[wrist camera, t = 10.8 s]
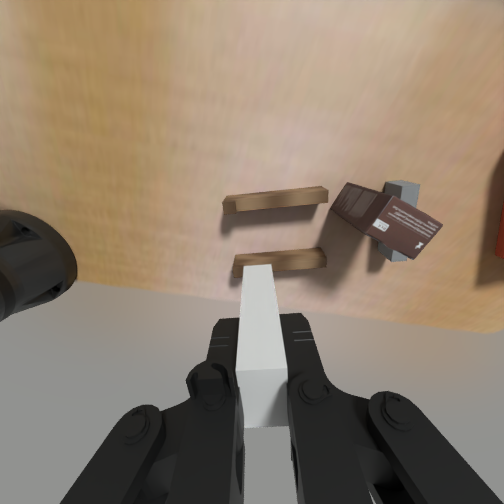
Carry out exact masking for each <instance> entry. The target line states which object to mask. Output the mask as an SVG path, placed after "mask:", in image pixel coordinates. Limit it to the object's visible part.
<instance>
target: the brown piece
mask: <svg viewBox="0 0 504 504" xmlns="http://www.w3.org/2000/svg"><path fill="white" fill-rule="evenodd" d="M319 203H328V190H327V189H325V188H324V187H322V186H318V187H308V188H298V189H289V190H279V191H269V192H259V193H250V194H240V195H230V196H226V198H225V199H224V201H223V202H222V204H223V211H224V215H226V214H236V212H237V211H247V210H257V209H268V208H278V207H288V206H298V205H309V204H319ZM266 264H271V266H272V271H285V270H297V269H310V268H322V267H326V265H327V257H326V256H325V254H324V252H323V251H322V249H321V248H311V249H299V250H287V251H275V252H264V253H252V254H240V255H235V260H234V264H233V274H234V278H240V277H243V270H244V266H252V265H266Z"/></svg>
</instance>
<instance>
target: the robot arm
mask: <svg viewBox="0 0 504 504" xmlns="http://www.w3.org/2000/svg"><path fill="white" fill-rule="evenodd" d="M76 272H77V268H76V261H75V258H74V255H73V253H72V251H71V249H70V247H69V245H68V244H67V243H66V241H65V240H64V239H63V237H62V236H61V235H60V234H59V233H58V232H57V231H56V230H55V229H53V228H52V227H51V226H50V225H48V224H47V223H45V222H44V221H42V220H40V219H39V218H37V217H35V216H32V215H30V214H27V213H24V212H20V211H14V210H2V211H0V322H1V321H2V320H4V319H5V318H7V317H8V316H10V315H12V314H14V313H17V312H20V311H23V310H26V309H29V308H32V307H35V306H37V305H40V304H43V303H46V302H49V301H52V300H54V299H55V298H57V297H58V296H60V295H61V294H63V293H64V292H65V291H67V290H68V289H69V288H70V287H71V286H72V284H73V283H74V281H75V278H76ZM186 384H187V387H188V390H189V394H190V398H189V399H188V400H186V401H185V402H183V403H180V404H178V405H176V406H174V407H171V408H168V409H165V410H163V411H159V409H158V408H157V407H155V406H153V405H141V406H138V407H136V408H133V409H132V410H130V411H129V412H128V413H126V414H125V415H124V416H123V417H122V418H121V419H120V420H119V421H118V422H117V424H116V425H115V426H114V427H113V429H112V430H111V432H110V433H109V435H108V436H107V437H106V439H105V440H104V442H103V443H102V445H101V446H100V447H99V449H98V450H97V451H96V453H95V454H94V456H93V457H92V459H91V460H90V461H89V463H88V464H87V466H86V467H85V468H84V470H83V471H82V473H81V474H80V476H79V477H78V478H77V480H76V481H75V483H74V484H73V486H72V487H71V488H70V490H69V491H68V493H67V494H66V495H65V497H64V498H63V500H62V501H61V503H60V504H243V502H244V465H245V446H244V439H243V434H244V426H245V428H254V427H274V426H289V429H290V437H291V460H293V468H294V476H295V485H296V493H297V501H298V504H373V502H372V499H371V496H370V493H371V495H372V497H373V499H374V501H375V503H376V504H503V503H502V501H501V500H500V499H499V498H498V497H497V496H496V495H495V494H494V492H493V491H492V490H491V489H490V488H489V487H488V486H487V485H486V484H485V482H484V481H483V480H482V479H481V478H480V477H479V476H478V474H477V473H476V472H475V471H474V470H473V469H472V468H471V467H470V465H469V464H468V463H467V462H466V461H465V460H464V459H463V457H462V456H461V455H460V454H459V453H458V452H457V451H456V450H455V449H454V447H453V446H452V445H451V444H450V443H449V442H448V441H447V439H446V438H445V437H444V436H443V435H442V434H441V433H440V432H439V431H438V429H437V428H436V427H435V426H434V425H433V424H432V423H431V421H430V420H429V419H428V418H427V417H426V416H425V415H424V414H423V413H422V411H421V410H420V409H419V408H418V407H417V406H416V405H415V404H413V403H412V402H411V401H410V400H409V399H407V398H405V397H403V396H401V395H400V394H397V393H393V392H389V391H383V392H378V393H376V394H374V395H373V396H372V397H371V399H370V400H369V399H366V398H362V397H358V396H354V395H351V394H348V393H345V392H343V391H341V390H339V389H338V388H336V387H335V386H334V385H333V384H332V383H331V382H330V381H329V380H328V378H327V376H326V374H325V372H324V369H323V366H322V363H321V360H320V356H319V353H318V350H317V347H316V344H315V341H314V338H313V335H312V332H311V328H310V325H309V322H308V320H307V319H306V318H305V317H304V316H303V315H302V314H301V313H291V314H279V311H278V305H277V298H276V292H275V285H274V279H273V272H272V266H271V264H266V265H252V266H244V270H243V283H242V295H241V308H240V318H226V319H219V321H218V322H217V323H216V325H215V326H214V328H213V331H212V336H211V341H210V346H209V350H208V354H207V359H206V361H204V362H202V363H200V364H198V365H197V366H195V367H194V368H193V369H192V370H191V371H190V372H189V374H188V377H187V378H186ZM368 489H369V490H368ZM369 491H370V493H369Z"/></svg>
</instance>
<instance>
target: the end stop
mask: <svg viewBox="0 0 504 504" xmlns="http://www.w3.org/2000/svg"><path fill="white" fill-rule="evenodd" d="M419 188H420V184H416V183H411V182H407V181H403V180H399V181H389V182H386V185H385V194H389V195H393V196H395V197H397V198H399V199H401V200H403V201H404V202H406V203H408V204H410V205H411V206H413V207H415V208H416V205H417V200H418V194H419ZM378 251H379V252H380V253H382V254H383V255H384V256H385V257H386V258H387V259H389V260H390V261H391V262H396V261H407V257H406V256H404V255H403V254H401V253H399V252H397V251H395V250H392V249H390V248H388V247H387V246H385V245H384V244H382V243H380V242H379V243H378Z"/></svg>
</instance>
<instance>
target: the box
mask: <svg viewBox="0 0 504 504" xmlns="http://www.w3.org/2000/svg"><path fill="white" fill-rule="evenodd" d="M330 209H331V210H333V211H334V212H335V213H336V214H338V215H339V216H341V217H342V218H343V219H345V220H346V221H347V222H349V223H350V224H352V225H353V226H354V227H355V228H357V229H358V230H360V231H361V232H362V233H364V234H365V235H367V236H369V237H371V238H373V239H375V240H377V241H379V242H380V243H382V244H384V245H385V246H387V247H388V248H390V249H392V250H395V251H397V252H399V253H401V254H403V255H404V256H406V257H408V258H410V259H412V260H414V259H415V258H416V257H417V255H418V254H419V253H420V252H421V251H422V250H423V248H424V247H425V246H426V245H427V244H428V243H429V242H430V240H431V239H432V238H433V237H434V236H435V235H436V233H437V232H438V231H439V230H440V229H441V227H442V226H443V224H441V223H440V222H438V221H436V220H435V219H433V218H432V217H430V216H429V215H427V214H426V213H424V212H422V211H420V210H418V209H416V208H415V207H413V206H411V205H410V204H408V203H406V202H404V201H403V200H401V199H399V198H397V197H395V196H393V195H389V194H385V193H382V192H378V191H375V190H372V189H368V188H365V187H362V186H359V185H355V184H352V183H349V182H347V183H346V185H345V186H344V188H343V189H342V191H341V192H340V194H339V195H338V197H337V199H336V200H335V202H334V203H333V205H332V206H331V208H330Z"/></svg>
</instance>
